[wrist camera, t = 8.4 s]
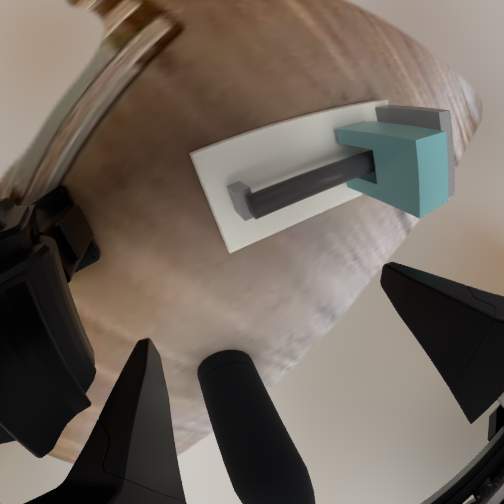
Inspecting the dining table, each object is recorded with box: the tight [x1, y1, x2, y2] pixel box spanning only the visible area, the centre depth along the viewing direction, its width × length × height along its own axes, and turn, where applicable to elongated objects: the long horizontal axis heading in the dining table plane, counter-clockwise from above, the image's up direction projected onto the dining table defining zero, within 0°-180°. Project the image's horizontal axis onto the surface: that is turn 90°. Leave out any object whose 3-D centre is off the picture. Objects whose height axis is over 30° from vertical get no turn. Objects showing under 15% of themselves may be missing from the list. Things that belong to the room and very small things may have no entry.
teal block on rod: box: [336, 121, 448, 218], centre depth 17 cm, size 4×5×8 cm
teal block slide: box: [189, 100, 454, 253], centre depth 18 cm, size 18×8×8 cm, turn 108°
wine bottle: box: [197, 350, 315, 504], centre depth 16 cm, size 6×6×30 cm
